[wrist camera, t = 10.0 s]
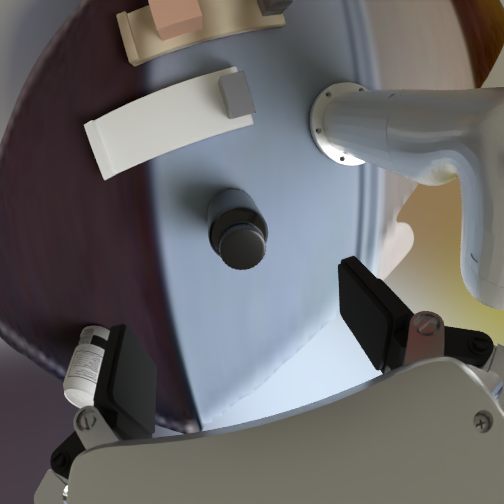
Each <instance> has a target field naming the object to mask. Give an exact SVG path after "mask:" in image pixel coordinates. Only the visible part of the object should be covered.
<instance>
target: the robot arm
mask: <svg viewBox="0 0 504 504" xmlns="http://www.w3.org/2000/svg"><path fill="white" fill-rule="evenodd" d="M326 94H327V97H326ZM310 129H311V134H312V137H313V139H314V142H315V143H316V145H317V147H318V148H319V149H320V151H321V152H322V153H323V154H324V155H325V156H327V157H328V158H329V159H331V160H333V161H335V162H337V163H339V164H342V165H348V166H356V165H360V164H363V163H365V162H368V163H370V164H373V165H376V166H378V167H381V168H384V169H386V170H389V171H391V172H394V173H396V174H399V175H401V176H403V177H406V178H408V179H410V180H413V181H416V182H418V183H421V184H424V185H429V186H437V185H441V184H445V183H448V182H449V181H452V180H453V179H455V178H456V177H459V180H460V185H461V199H462V234H461V254H460V255H461V257H460V267H461V274H462V279H463V281H464V284H465V286H466V288H467V290H468V291H469V292H470V294H471V295H472V296H473V297H474V298H475V299H477V300H478V301H479V302H481V303H483V304H484V305H486V306H489V307H492V308H495V309H500V310H504V87H496V88H480V89H468V90H372V91H369V90H368V89H366V88H365V87H363V86H361V85H359V84H356V83H351V82H342V83H336V84H333V85H331V86H329V87H327V88H325V89H324V90H323V91H322V92H321V93H320V94H319V95H318V96H317V98H316V99H315V101H314V103H313V105H312V108H311V113H310ZM316 129H317V132H316ZM340 157H341V159H340ZM338 278H339V302H340V314H341V316H342V318H343V320H344V321H345V323H346V324H347V326H348V327H349V329H350V330H351V331H352V333H353V335H354V336H355V338H356V339H357V341H358V342H359V344H360V345H361V347H362V348H363V350H364V351H365V353H366V355H367V356H368V358H369V359H370V361H371V362H372V364H373V366H374V367H375V369H376V370H381V372H382V373H383V374H382V375H380V376H378V377H376V378H374V379H371V380H369V381H367V382H365V383H362V384H360V385H357V386H355V387H352V388H350V389H348V390H345V391H343V392H340V393H338V394H335V395H333V396H330V397H328V398H325V399H322V400H320V401H317V402H314V403H311V404H308V405H305V406H302V407H299V408H296V409H293V410H290V411H286V412H283V413H280V414H276V415H273V416H269V417H265V418H262V419H258V420H254V421H250V422H246V423H242V424H238V425H233V426H228V427H223V428H218V429H213V430H208V431H202V432H196V433H189V434H183V435H175V436H166V437H158V438H152V433H154V432H155V404H156V381H157V367H156V365H155V363H154V361H153V360H152V359H151V357H150V356H149V355H148V353H147V352H146V350H145V349H144V348H143V346H142V345H141V343H140V342H139V340H138V339H137V338H136V336H135V335H134V333H133V332H132V330H131V329H130V327H129V326H126V325H124V324H120V325H116V326H112V327H111V329H110V333H109V336H108V340H107V343H106V347H105V351H104V355H103V359H102V362H101V367H100V371H99V375H98V379H97V384H96V388H95V393H94V398H93V401H94V405H93V406H84V407H82V408H81V409H80V410H79V411H78V412H77V413H76V415H75V417H74V428H75V432H73V433H72V434H71V435H70V436H69V437H68V438H67V439H66V440H65V441H64V442H63V443H62V444H61V445H60V446H59V447H58V448H57V449H56V450H55V451H54V452H53V453H52V456H51V467H52V470H50V469H48V471H47V473H46V475H45V477H44V478H43V480H42V482H41V484H40V486H39V488H38V489H37V491H36V493H35V496H34V502H35V504H504V346H502V345H500V344H498V345H497V346H495V345H493V341H492V340H491V338H490V337H489V336H488V335H487V334H485V333H484V332H480V331H474V330H467V329H461V328H454V327H448V326H444V322H443V320H442V318H441V317H440V316H439V315H438V314H436V313H434V312H429V311H422V312H418V313H416V314H415V315H414V314H413V312H412V311H411V310H410V309H409V308H408V307H407V306H406V305H405V304H404V303H403V302H402V301H401V300H400V299H399V297H398V296H397V295H396V294H395V293H394V292H393V291H392V290H391V289H390V288H389V287H388V286H387V285H386V284H385V283H384V282H383V281H382V280H381V279H379V278H376V277H375V276H374V275H373V274H372V273H371V272H370V271H369V270H368V269H367V268H366V267H365V266H364V265H363V264H362V263H361V262H360V261H359V260H358V259H357V258H356V257H355V256H351V257H348V258H345V259H342V260H341V264H339V265H338Z"/></svg>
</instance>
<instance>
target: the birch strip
mask: <svg viewBox="0 0 504 504" xmlns="http://www.w3.org/2000/svg"><path fill="white" fill-rule="evenodd" d="M197 1H198V4H199V7H200V10H201V13H202V29H200V30H196V31H193V32H189V33H186V34H183V35H180V36H177V37H174V38H171V39H168V40H165V41H163V40H162V38H161V37H160V35H159V33H158V31H157V29H156V25H155V22H154V19H153V15H152V12H151V9H150V5H148V6H146V7H143V8H140V9H138V10H135V11H133V12H131V13H128V14H127V13H126V11H124V12H122V13H119V14H117V15H116V16H117V20H118V24H119V28H120V31H121V35H122V39H123V42H124V46H125V50H126V53H127V57H128V60H129V63H131V64H132V65H133V66H137V65H140V64H142V63H144V62H147V61H149V60H152V59H154V58H157V57H160V56H162V55H165V54H168V53H171V52H173V51H176V50H179V49H182V48H186V47H189V46H192V45H195V44H199V43H202V42H206V41H210V40H214V39H217V38H222V37H226V36H230V35H235V34H240V33H245V32H250V31H256V30H262V29H269V28H276V27H283V26H284V25H285V24H286V21H285V19H284V16H283V12H284V10H285V9H286V8H287V7H288V6H289V5H290V4H291V3H292V0H197Z"/></svg>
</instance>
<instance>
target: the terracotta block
mask: <svg viewBox="0 0 504 504" xmlns="http://www.w3.org/2000/svg"><path fill="white" fill-rule="evenodd" d="M148 2H149V5H150V9H151V12H152V15H153V19H154V22H155V25H156V29H157V31H158V33H159V35H160V37H161V38H162V40H163V41H165V40H168V39H171V38H174V37H177V36H180V35H183V34H186V33H189V32H193V31H196V30H200V29H202V13H201V10H200V7H199V4H198V1H197V0H148Z"/></svg>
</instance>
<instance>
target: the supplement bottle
mask: <svg viewBox="0 0 504 504" xmlns="http://www.w3.org/2000/svg"><path fill="white" fill-rule="evenodd" d="M207 221H208V237H209V242H210V245H211V247H212V249H213V250H214V252H215V253H216V254H217V255H218V256H220V257H221V258H222V260H223V261H224V262H225V264H227V265H228V266H229V267H231V268H235V269H236V270H237V269H239V270H246V269H250V268H252V267H254V266H255V265H257V264H258V263H259V262H260V261H261V260H262V259H263V256H264V255H265V252H266V245H265V244H266V242H267V238H268V228H267V224H266V222H265V219H264V218H263V216H262V214H261V213H260V211H259V209H258V207H257V206H256V204H255V202H254V201H253V199H252V198H251V197H250V196H249V195H248V194H247V193H245V192H244V191H241V190H238V189H227V190H224V191H221V192H219V193H218V194H216V195H215V196H214V197H213V198H212V200H211V201H210V203H209V206H208V210H207Z"/></svg>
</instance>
